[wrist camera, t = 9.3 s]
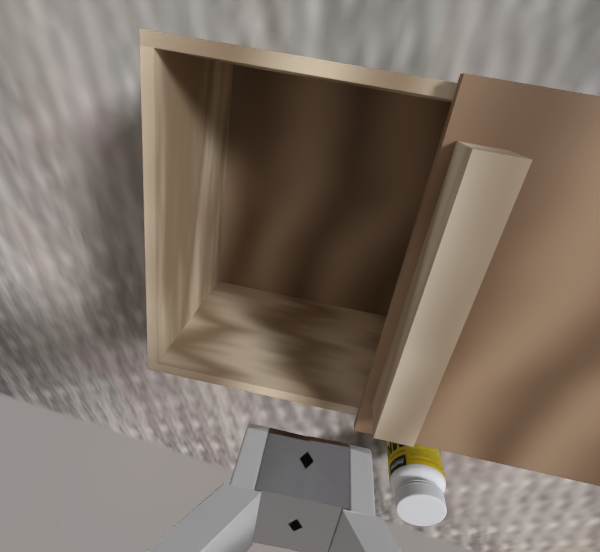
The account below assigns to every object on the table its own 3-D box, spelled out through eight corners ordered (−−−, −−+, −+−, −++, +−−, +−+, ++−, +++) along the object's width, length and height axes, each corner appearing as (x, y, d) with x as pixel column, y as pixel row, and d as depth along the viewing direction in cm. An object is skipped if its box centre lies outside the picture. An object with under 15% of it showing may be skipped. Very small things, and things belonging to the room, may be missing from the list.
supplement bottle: (394, 406, 38) (403, 484, 30) (441, 419, 38) (462, 501, 30) (379, 439, 40) (383, 520, 32) (423, 452, 40) (438, 536, 32)
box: (213, 283, 35) (147, 368, 24) (228, 53, 27) (139, 28, 16) (414, 324, 34) (439, 434, 23) (491, 99, 26) (586, 105, 15)
